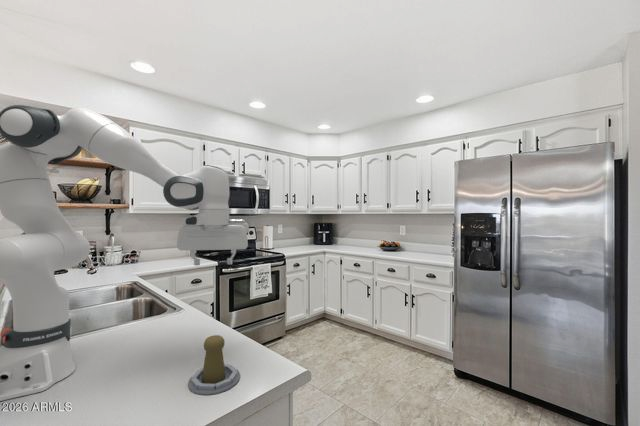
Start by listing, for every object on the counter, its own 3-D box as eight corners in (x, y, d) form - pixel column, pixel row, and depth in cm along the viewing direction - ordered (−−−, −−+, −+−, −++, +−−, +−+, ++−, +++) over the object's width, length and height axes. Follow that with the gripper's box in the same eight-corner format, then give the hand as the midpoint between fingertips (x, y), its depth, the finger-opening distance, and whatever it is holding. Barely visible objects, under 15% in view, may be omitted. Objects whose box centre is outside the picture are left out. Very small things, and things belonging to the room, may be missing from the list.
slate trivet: (199, 402, 70) (199, 395, 70) (181, 379, 79) (181, 373, 79) (248, 381, 79) (248, 375, 79) (226, 363, 88) (226, 357, 88)
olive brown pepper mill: (217, 386, 75) (218, 343, 75) (196, 383, 77) (197, 340, 77) (229, 373, 81) (230, 333, 81) (210, 371, 82) (210, 331, 83)
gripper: (249, 219, 96) (248, 262, 96) (180, 219, 91) (180, 264, 91) (248, 219, 89) (248, 265, 89) (175, 219, 85) (175, 267, 85)
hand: (213, 264), depth 90 cm, fingers open, 8 cm apart
